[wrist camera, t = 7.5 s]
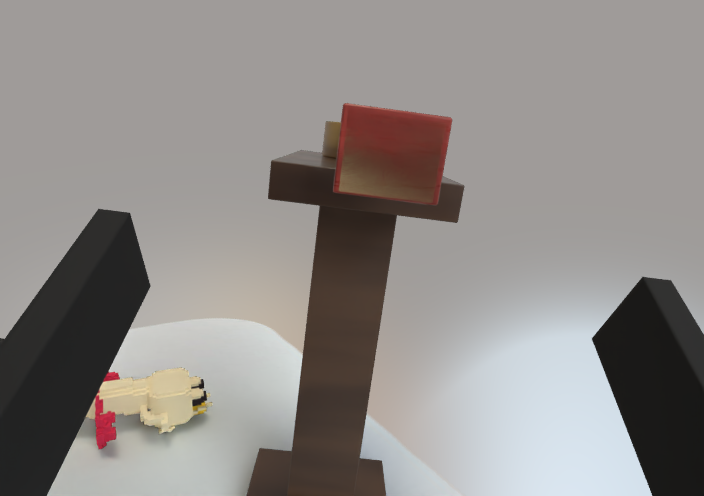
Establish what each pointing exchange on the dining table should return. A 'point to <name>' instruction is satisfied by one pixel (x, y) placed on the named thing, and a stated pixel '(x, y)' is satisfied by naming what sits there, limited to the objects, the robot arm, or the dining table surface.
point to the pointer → (388, 153)
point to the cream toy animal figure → (148, 401)
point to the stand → (338, 330)
